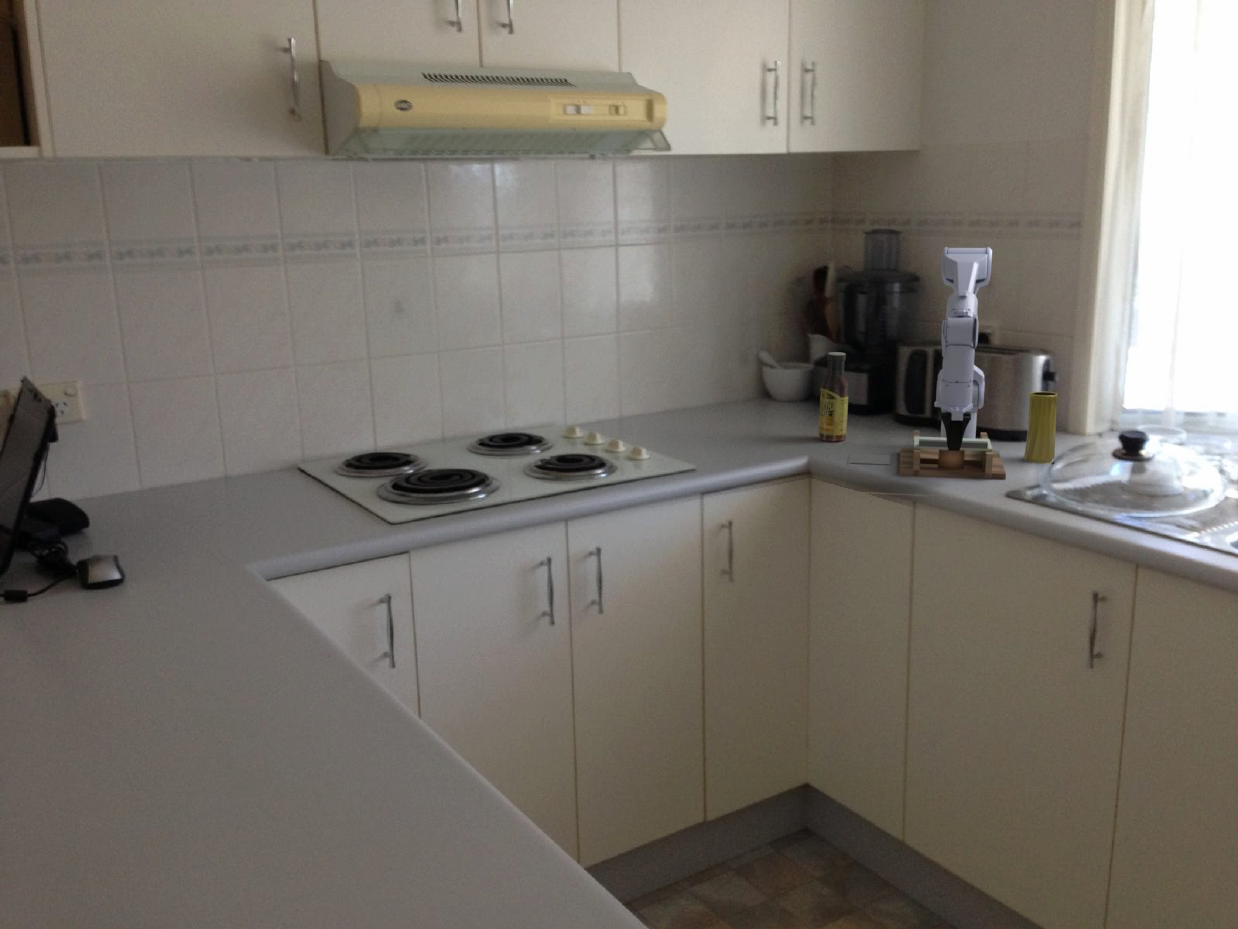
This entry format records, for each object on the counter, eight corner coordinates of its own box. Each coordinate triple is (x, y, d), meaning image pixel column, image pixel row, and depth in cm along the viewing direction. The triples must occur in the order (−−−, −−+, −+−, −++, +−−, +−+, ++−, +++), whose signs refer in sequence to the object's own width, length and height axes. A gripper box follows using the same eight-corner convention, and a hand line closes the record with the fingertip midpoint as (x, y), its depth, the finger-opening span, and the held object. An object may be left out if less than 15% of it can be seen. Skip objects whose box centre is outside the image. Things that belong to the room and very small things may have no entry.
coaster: (851, 456, 245) (851, 453, 245) (890, 458, 243) (890, 455, 243) (849, 465, 238) (850, 462, 238) (889, 466, 236) (889, 464, 236)
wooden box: (900, 454, 247) (901, 429, 245) (997, 457, 242) (999, 432, 241) (899, 476, 228) (900, 450, 227) (1005, 481, 223) (1007, 454, 222)
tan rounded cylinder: (937, 465, 234) (938, 444, 233) (963, 466, 233) (964, 445, 232) (938, 471, 230) (939, 449, 229) (964, 472, 229) (965, 450, 227)
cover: (913, 438, 236) (914, 431, 236) (989, 441, 233) (989, 433, 232) (914, 448, 228) (914, 440, 227) (992, 451, 224) (992, 443, 224)
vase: (1027, 456, 242) (1031, 389, 239) (1057, 459, 239) (1062, 392, 236) (1020, 462, 237) (1025, 394, 234) (1051, 466, 234) (1056, 397, 231)
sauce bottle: (813, 438, 263) (815, 352, 258) (835, 435, 266) (838, 350, 261) (829, 444, 257) (832, 355, 253) (852, 441, 260) (855, 353, 255)
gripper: (934, 373, 227) (931, 441, 230) (936, 386, 213) (933, 457, 216) (972, 374, 225) (968, 442, 228) (976, 387, 211) (972, 459, 215)
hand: (953, 450), depth 222 cm, fingers closed
